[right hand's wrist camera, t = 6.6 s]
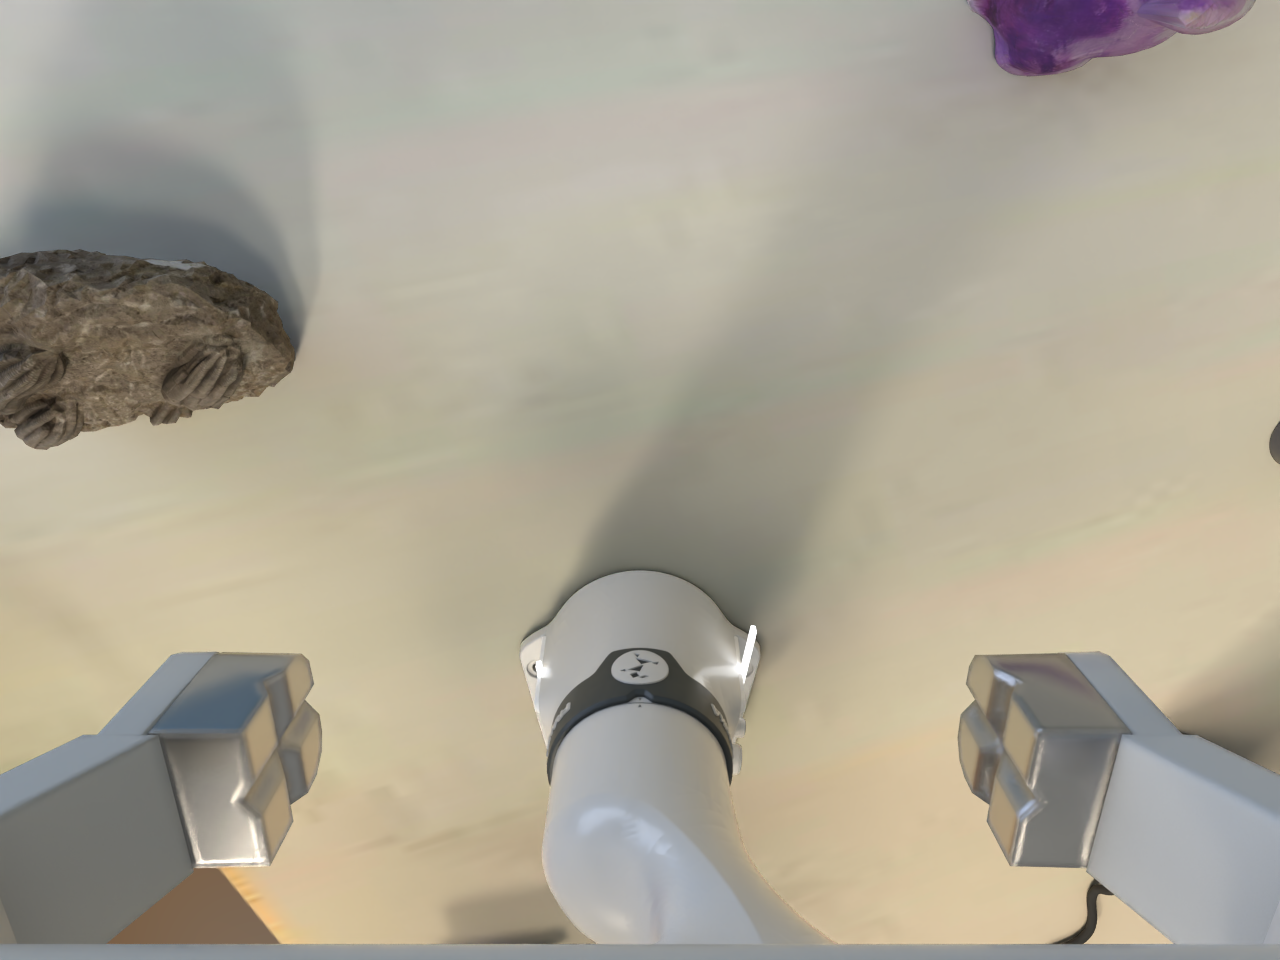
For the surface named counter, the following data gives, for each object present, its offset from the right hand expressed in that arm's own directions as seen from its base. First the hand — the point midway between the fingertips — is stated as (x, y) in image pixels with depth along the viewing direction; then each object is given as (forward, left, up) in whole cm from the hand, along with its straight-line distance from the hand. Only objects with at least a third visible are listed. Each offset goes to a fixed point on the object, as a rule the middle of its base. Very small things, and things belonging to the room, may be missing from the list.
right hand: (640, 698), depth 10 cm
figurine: (+14, -25, -48) cm, 56 cm away
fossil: (-6, +34, -48) cm, 59 cm away
